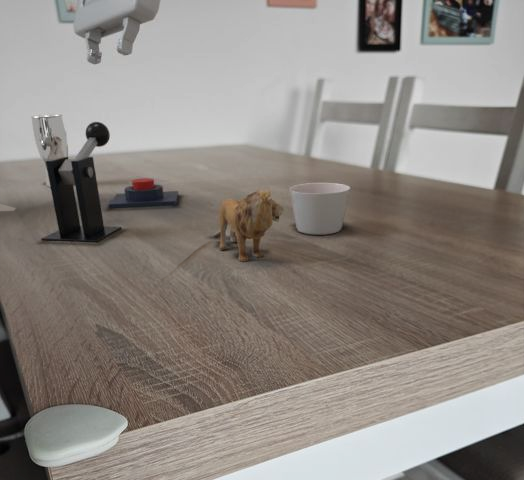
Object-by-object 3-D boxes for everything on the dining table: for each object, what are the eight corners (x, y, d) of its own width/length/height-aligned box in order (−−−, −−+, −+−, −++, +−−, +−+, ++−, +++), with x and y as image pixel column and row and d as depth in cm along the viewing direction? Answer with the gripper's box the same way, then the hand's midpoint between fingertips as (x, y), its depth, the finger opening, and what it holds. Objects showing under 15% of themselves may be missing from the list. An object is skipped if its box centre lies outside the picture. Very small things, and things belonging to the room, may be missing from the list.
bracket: (71, 232, 88) (56, 155, 83) (122, 234, 86) (111, 155, 81) (42, 246, 81) (24, 162, 76) (98, 248, 79) (83, 163, 74)
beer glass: (53, 188, 125) (39, 117, 118) (38, 185, 129) (24, 116, 122) (81, 184, 129) (69, 114, 123) (65, 181, 134) (53, 114, 127)
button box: (109, 213, 100) (106, 194, 98) (118, 202, 109) (115, 184, 107) (176, 210, 101) (174, 190, 99) (179, 199, 110) (177, 181, 108)
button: (131, 192, 102) (130, 182, 101) (134, 188, 105) (133, 178, 104) (153, 191, 102) (152, 181, 101) (155, 187, 105) (154, 177, 105)
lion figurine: (289, 260, 72) (288, 189, 68) (255, 268, 69) (252, 195, 65) (229, 238, 83) (225, 175, 79) (198, 244, 80) (193, 180, 76)
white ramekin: (338, 221, 90) (339, 181, 87) (356, 235, 82) (358, 191, 79) (284, 225, 89) (284, 184, 86) (297, 239, 81) (297, 195, 78)
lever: (95, 138, 88) (87, 117, 86) (116, 138, 88) (108, 117, 85) (61, 188, 80) (51, 166, 78) (84, 188, 80) (74, 166, 77)
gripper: (68, -28, 91) (59, 60, 92) (137, -66, 77) (124, 38, 78) (103, -10, 95) (94, 74, 97) (173, -43, 81) (161, 56, 83)
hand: (108, 58), depth 88 cm, fingers open, 8 cm apart
